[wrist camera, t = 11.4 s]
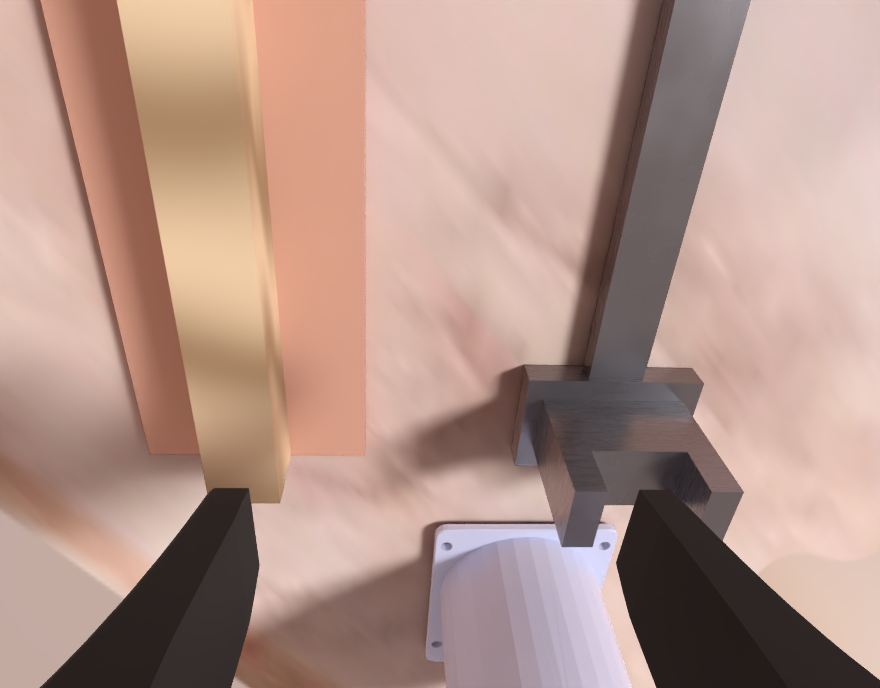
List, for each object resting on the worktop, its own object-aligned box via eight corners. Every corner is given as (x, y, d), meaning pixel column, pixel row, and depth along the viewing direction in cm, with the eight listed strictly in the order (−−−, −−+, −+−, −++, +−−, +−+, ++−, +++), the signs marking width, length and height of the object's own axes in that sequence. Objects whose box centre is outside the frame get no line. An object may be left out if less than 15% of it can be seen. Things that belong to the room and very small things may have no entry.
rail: (290, 456, 23) (279, 503, 21) (226, 456, 23) (209, 503, 21) (205, -568, 11) (158, -700, 9) (63, -589, 11) (-18, -729, 8)
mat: (365, 447, 24) (364, 455, 23) (154, 445, 23) (149, 453, 22) (364, -533, 11) (362, -553, 11) (-89, -598, 11) (-110, -622, 10)
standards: (665, 450, 25) (730, 563, 20) (511, 448, 24) (539, 564, 19) (961, -448, 12) (1320, -722, 8) (661, -490, 12) (840, -813, 7)
